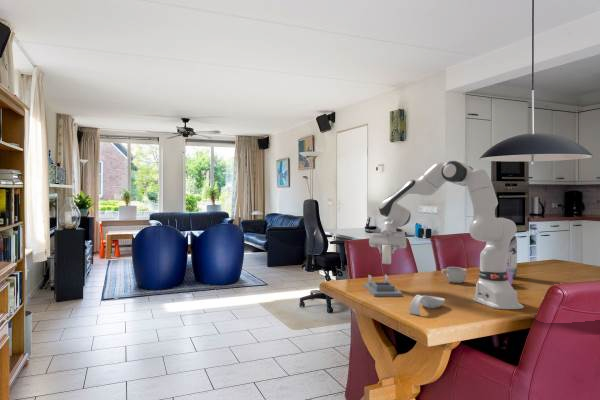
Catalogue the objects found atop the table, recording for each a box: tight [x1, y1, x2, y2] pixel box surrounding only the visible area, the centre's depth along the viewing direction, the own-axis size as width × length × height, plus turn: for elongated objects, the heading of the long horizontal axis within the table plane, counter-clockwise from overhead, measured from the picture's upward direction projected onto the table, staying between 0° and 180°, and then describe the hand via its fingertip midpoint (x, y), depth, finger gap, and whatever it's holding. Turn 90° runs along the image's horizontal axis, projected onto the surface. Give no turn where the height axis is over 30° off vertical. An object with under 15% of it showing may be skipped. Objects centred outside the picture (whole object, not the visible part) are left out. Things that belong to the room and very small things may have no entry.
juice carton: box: [506, 235, 518, 280], centre depth 250 cm, size 9×10×27 cm
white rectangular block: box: [381, 245, 392, 265], centre depth 221 cm, size 5×5×10 cm
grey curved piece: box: [408, 294, 446, 316], centre depth 177 cm, size 24×12×7 cm, turn 141°
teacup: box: [441, 266, 467, 284], centre depth 234 cm, size 14×11×8 cm
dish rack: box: [363, 274, 404, 298], centre depth 211 cm, size 24×14×6 cm, turn 4°
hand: (386, 252), depth 220 cm, fingers closed on white rectangular block, 5 cm apart
